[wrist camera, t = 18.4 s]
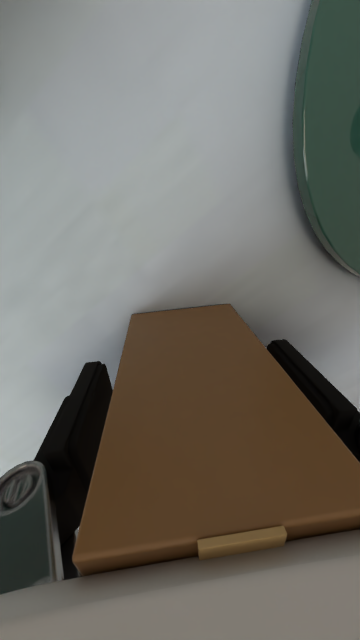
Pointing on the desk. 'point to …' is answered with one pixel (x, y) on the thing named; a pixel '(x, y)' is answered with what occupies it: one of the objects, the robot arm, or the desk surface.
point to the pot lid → (330, 127)
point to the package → (209, 450)
